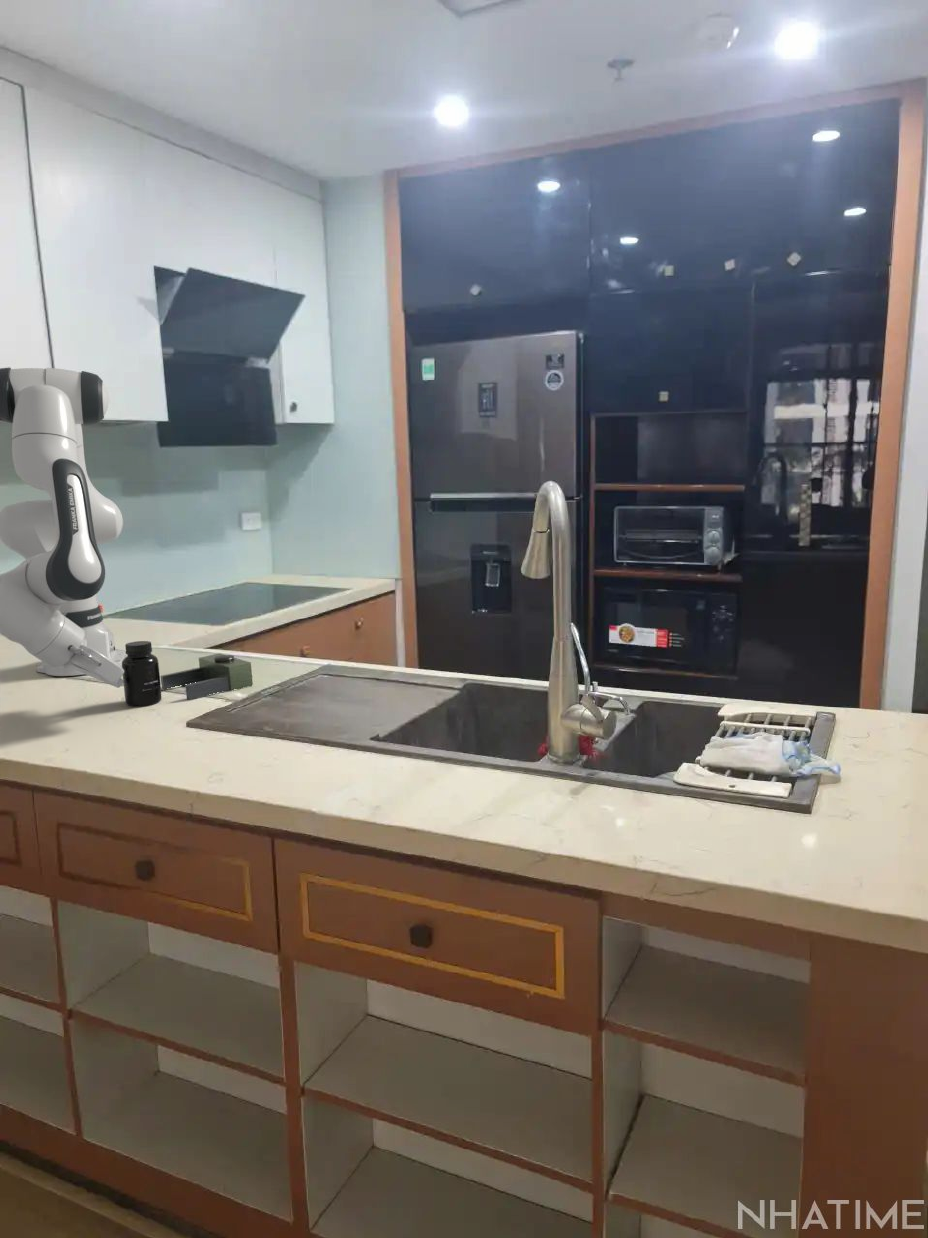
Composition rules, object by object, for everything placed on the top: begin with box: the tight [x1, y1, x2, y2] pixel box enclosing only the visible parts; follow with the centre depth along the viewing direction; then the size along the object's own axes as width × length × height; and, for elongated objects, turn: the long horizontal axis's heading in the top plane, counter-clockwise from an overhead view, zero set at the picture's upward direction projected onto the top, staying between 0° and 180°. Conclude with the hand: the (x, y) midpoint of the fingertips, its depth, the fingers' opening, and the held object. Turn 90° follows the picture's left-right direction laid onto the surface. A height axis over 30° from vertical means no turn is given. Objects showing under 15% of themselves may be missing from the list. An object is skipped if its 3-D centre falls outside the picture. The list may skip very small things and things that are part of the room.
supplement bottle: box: [121, 640, 163, 707], centre depth 173 cm, size 7×7×12 cm
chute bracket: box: [160, 653, 254, 701], centre depth 183 cm, size 14×13×6 cm
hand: (118, 683), depth 170 cm, fingers closed
